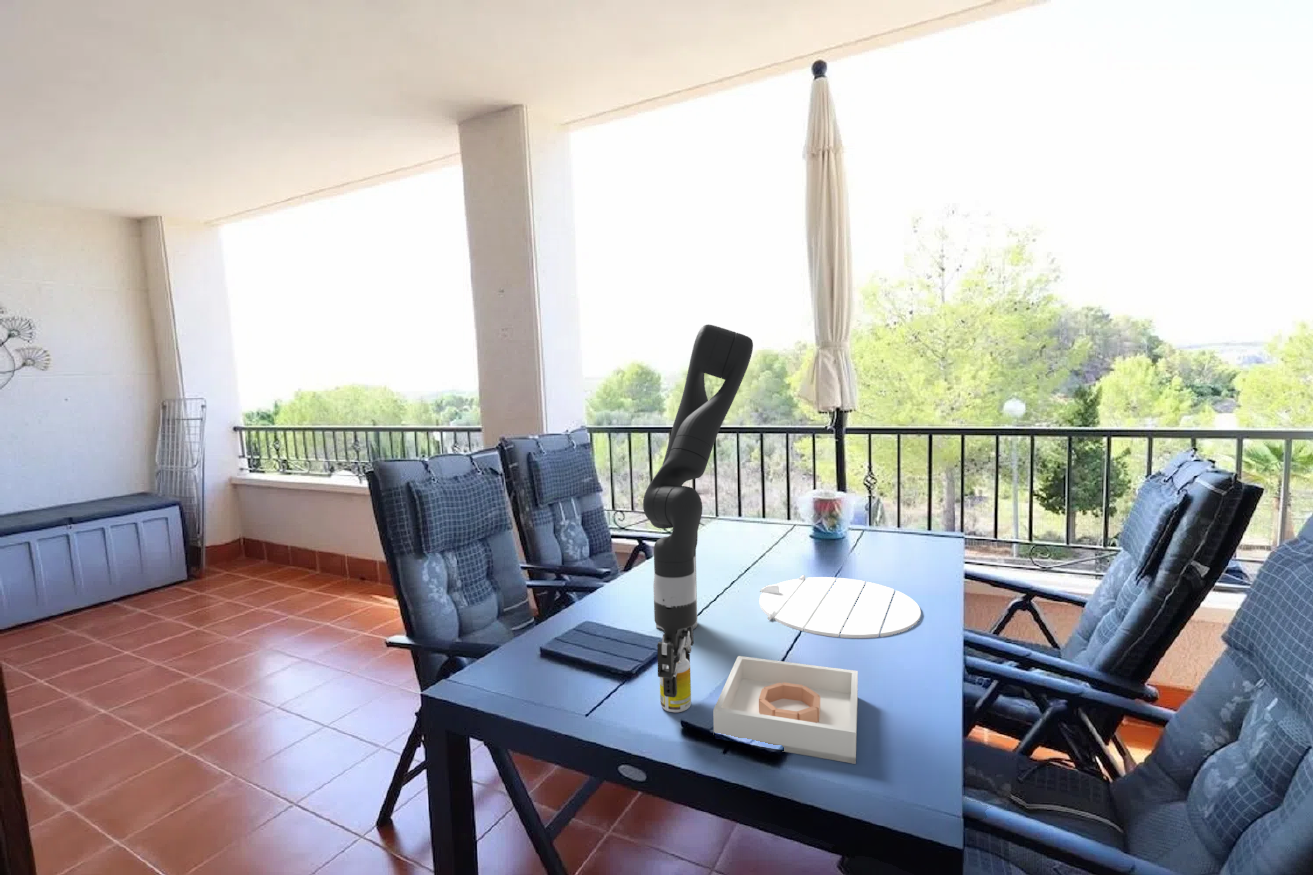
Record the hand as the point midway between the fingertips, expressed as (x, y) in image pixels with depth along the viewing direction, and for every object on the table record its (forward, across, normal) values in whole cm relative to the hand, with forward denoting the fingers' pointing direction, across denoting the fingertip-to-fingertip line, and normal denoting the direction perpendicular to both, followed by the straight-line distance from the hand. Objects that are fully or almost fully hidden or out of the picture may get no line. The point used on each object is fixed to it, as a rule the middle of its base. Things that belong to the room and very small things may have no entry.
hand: (677, 684), depth 108 cm
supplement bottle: (+4, 0, 0) cm, 4 cm away
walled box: (+4, -2, +20) cm, 20 cm away
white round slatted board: (+5, -57, +25) cm, 62 cm away
